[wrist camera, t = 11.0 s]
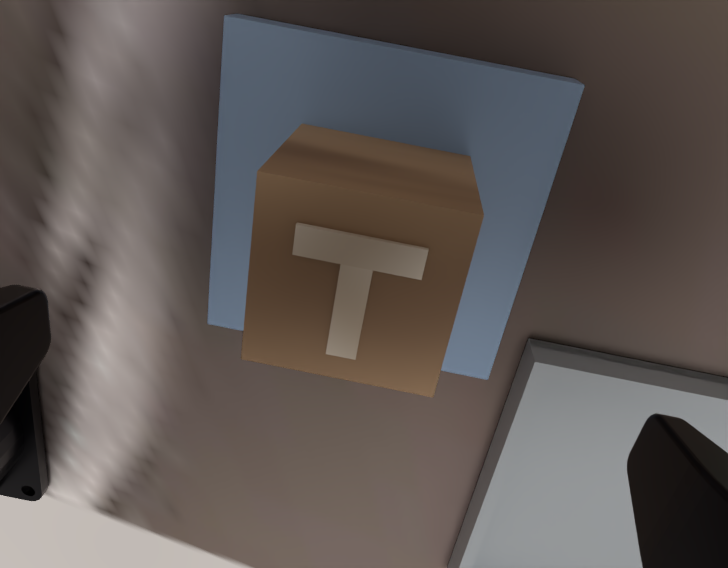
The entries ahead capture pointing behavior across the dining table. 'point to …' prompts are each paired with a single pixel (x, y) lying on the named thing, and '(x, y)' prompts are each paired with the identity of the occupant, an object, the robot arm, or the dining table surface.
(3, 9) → the dining table surface
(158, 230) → the dining table surface
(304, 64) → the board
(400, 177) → the letter cube
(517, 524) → the grey tray
